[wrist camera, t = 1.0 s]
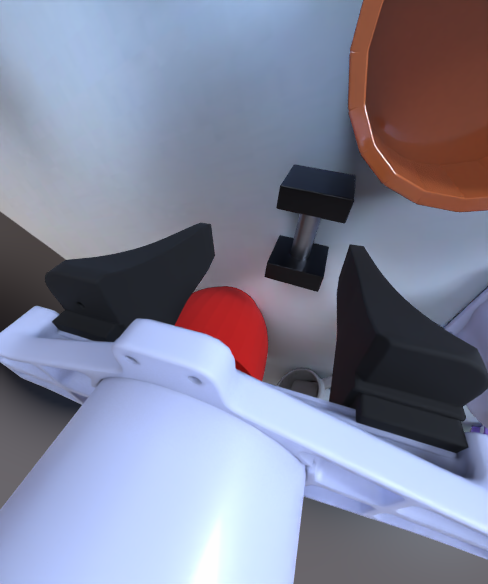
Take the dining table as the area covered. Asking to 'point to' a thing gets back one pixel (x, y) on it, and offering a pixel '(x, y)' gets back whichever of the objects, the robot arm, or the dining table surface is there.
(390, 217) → the dining table surface
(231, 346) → the ceramic cup
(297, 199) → the dumbbell
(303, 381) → the ceramic mug
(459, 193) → the pot
